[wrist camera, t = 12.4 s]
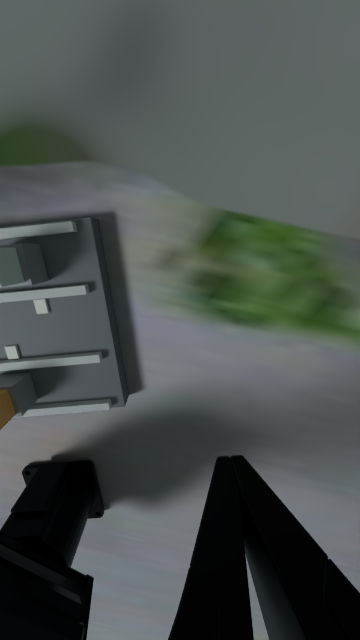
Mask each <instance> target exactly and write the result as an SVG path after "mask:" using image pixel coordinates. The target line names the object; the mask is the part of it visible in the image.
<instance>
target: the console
mask: <svg viewBox="0 0 360 640" xmlns="http://www.w3.org/2000/svg"><path fill="white" fill-rule="evenodd" d="M20 243H26V244H40V246H41V250H42V254H43V258H44V262H45V267H46V271H47V275H48V279H49V281H46V282H42V283H38V284H33V285H25V286H15V287H5V288H0V375H2V374H13V373H25V372H30V375H31V378H32V381H33V385H34V388H35V392H36V395H37V399H38V400H37V401H36V402H35V403H34V404H33V405H32V406H31V407H30V408H29V410H28V411H27V412H26V413H25V414H24V415H23V416H19V417H29V416H42V415H54V414H66V413H78V412H91V411H103V410H110V408H111V407H123V406H125V404H126V402H127V399H128V396H129V395H128V389H127V384H126V378H125V372H124V366H123V361H122V355H121V349H120V343H119V338H118V332H117V326H116V321H115V315H114V309H113V303H112V298H111V292H110V286H109V281H108V275H107V269H106V263H105V258H104V252H103V246H102V241H101V235H100V229H99V223H98V220H97V219H94V218H91V217H87V218H78V219H68V220H59V221H49V222H40V223H30V224H21V225H11V226H2V227H0V245H10V244H20ZM13 418H17V417H13Z"/></svg>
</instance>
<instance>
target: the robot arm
mask: <svg viewBox="0 0 360 640" xmlns="http://www.w3.org/2000/svg"><path fill="white" fill-rule="evenodd" d="M22 475H23V478H24V480H25V483H26V487H25V489H24V491H23V492H22V494H21V495H20V497H19V498H18V500H17V501H16V503H15V504H14V506H13V507H12V509H11V514H10V516H9V517H8V519H7V520H6V522H5V524H4V525H3V527H2V528H1V530H0V640H86V638H87V629H88V621H89V613H90V604H91V596H92V588H93V579H94V578H93V577H92V576H90V575H88V574H87V575H84V574H82V573H80V572H78V571H76V570H74V569H73V568H71V565H72V562H73V559H74V556H75V553H76V550H77V547H78V545H79V542H80V539H81V536H82V533H83V530H84V527H85V524H86V521H87V519H89V518H100V517H102V516H103V514H104V506H103V501H102V497H101V493H100V489H99V485H98V480H97V476H96V472H95V468H94V464H93V463H92V462H91V461H78V462H64V463H51V464H38V465H27V466H26V467H25V468H24V469H23V471H22ZM245 554H246V557H247V561H248V564H249V568H250V572H251V575H252V579H253V583H254V586H255V590H256V593H257V597H258V601H259V604H260V608H261V611H262V615H263V619H264V622H265V626H266V630H267V633H268V637H269V640H360V593H359V592H358V590H357V589H356V588H355V587H354V586H353V585H352V584H351V582H350V581H349V580H348V579H347V578H346V577H345V576H344V574H343V573H342V572H341V571H340V570H339V568H338V567H337V566H336V565H335V564H334V563H333V561H332V560H331V559H328V556H327V554H326V553H325V552H324V551H323V550H322V549H321V547H320V546H319V545H318V544H317V543H316V541H315V540H314V539H313V538H312V537H311V536H310V534H309V533H308V532H307V531H306V530H305V528H304V527H303V526H302V525H301V524H300V523H299V521H298V520H297V519H296V518H295V517H294V515H293V514H292V513H291V512H290V511H289V510H288V508H287V507H286V506H285V505H284V504H283V502H282V501H281V500H280V499H279V498H278V497H277V495H276V494H275V493H274V492H273V491H272V489H271V488H270V487H269V486H268V485H267V484H266V482H265V481H264V480H263V479H262V478H261V476H260V475H259V474H258V473H257V472H256V471H255V469H254V468H253V467H252V466H251V465H250V463H249V462H248V461H247V460H246V459H245V458H244V456H242V455H232V456H230V457H229V456H219V457H217V459H216V463H215V467H214V471H213V475H212V479H211V483H210V487H209V491H208V495H207V499H206V503H205V507H204V511H203V515H202V519H201V523H200V527H199V531H198V535H197V539H196V543H195V547H194V551H193V555H192V559H191V563H190V568H189V570H188V574H187V578H186V582H185V586H184V590H183V593H182V597H181V600H180V604H179V607H178V611H177V614H176V617H175V620H174V623H173V626H172V629H171V632H170V635H169V638H168V640H254V638H253V628H252V617H251V607H250V597H249V587H248V577H247V567H246V557H245Z"/></svg>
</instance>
